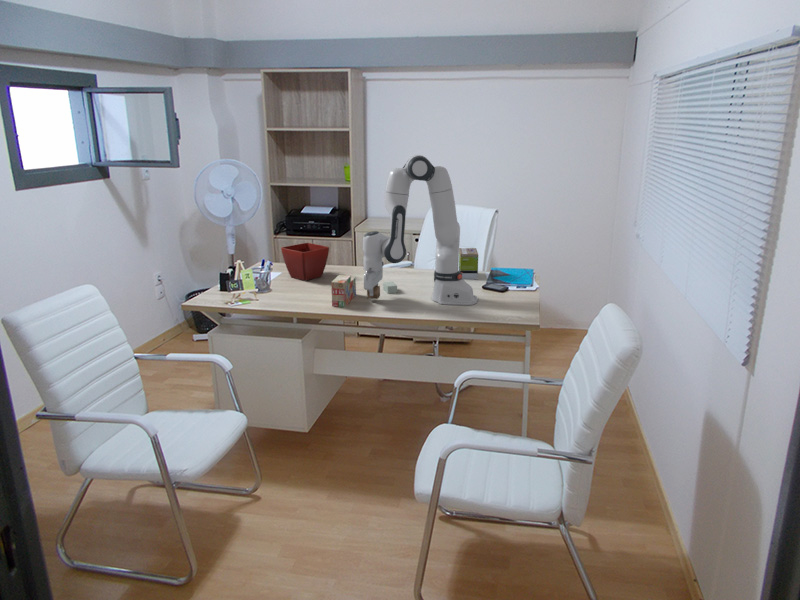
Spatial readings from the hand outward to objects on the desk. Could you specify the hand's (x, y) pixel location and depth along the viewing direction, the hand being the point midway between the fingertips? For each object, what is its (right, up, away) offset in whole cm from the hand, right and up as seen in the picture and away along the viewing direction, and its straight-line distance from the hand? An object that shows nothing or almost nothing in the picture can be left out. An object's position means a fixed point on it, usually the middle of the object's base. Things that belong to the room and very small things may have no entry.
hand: (373, 293), depth 284 cm
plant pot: (-39, +10, +43) cm, 59 cm away
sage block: (+8, +1, +17) cm, 19 cm away
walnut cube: (0, -2, +1) cm, 2 cm away
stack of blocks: (-14, -3, +2) cm, 15 cm away
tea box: (+51, +10, +46) cm, 69 cm away
